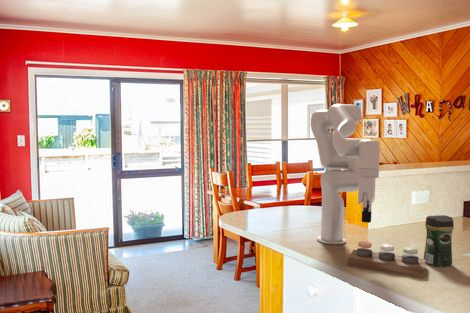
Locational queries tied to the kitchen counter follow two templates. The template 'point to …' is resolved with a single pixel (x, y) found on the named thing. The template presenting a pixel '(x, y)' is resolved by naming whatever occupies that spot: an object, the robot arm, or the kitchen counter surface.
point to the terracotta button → (364, 244)
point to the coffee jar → (438, 240)
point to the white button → (387, 247)
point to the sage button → (410, 250)
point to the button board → (387, 262)
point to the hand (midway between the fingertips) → (366, 221)
